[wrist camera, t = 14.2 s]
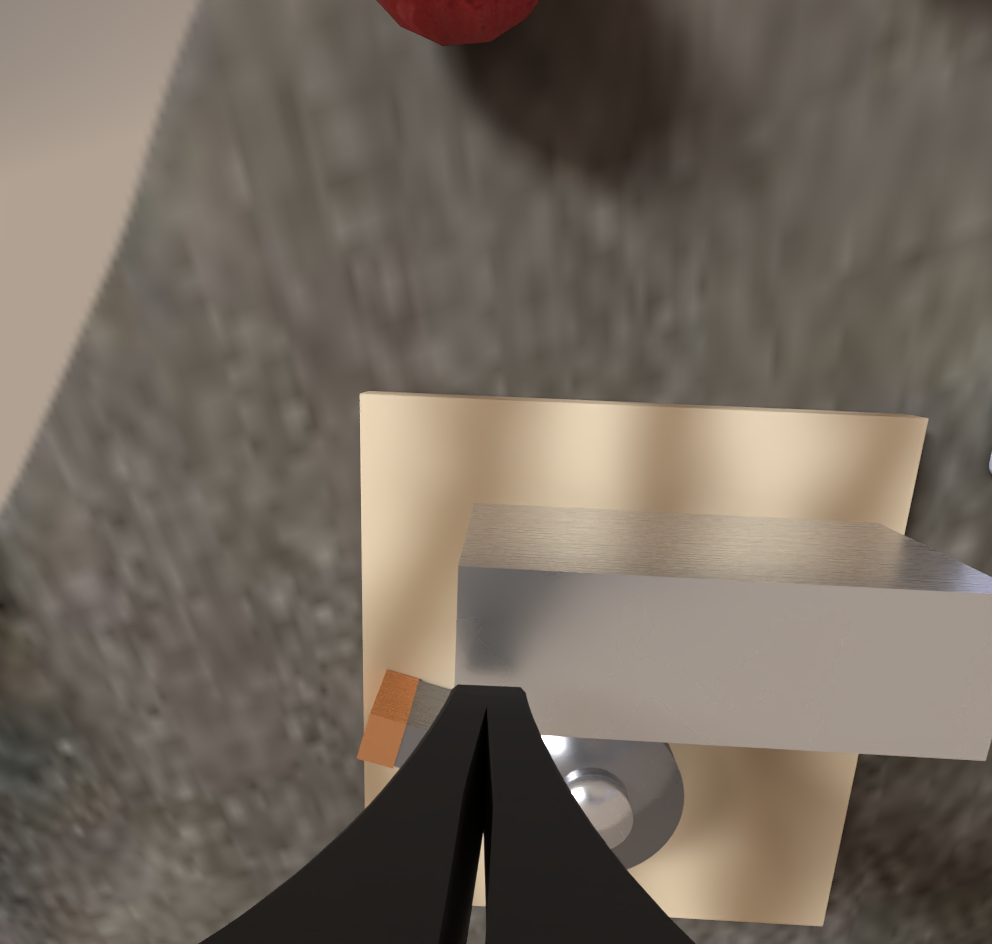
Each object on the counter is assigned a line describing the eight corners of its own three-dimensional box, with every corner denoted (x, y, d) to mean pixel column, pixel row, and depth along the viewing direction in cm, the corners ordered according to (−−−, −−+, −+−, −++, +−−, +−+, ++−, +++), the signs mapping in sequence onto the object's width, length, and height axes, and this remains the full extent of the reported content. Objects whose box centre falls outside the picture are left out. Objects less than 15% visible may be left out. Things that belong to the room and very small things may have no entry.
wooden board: (902, 413, 19) (974, 426, 16) (807, 897, 23) (849, 976, 20) (369, 390, 19) (343, 399, 16) (373, 871, 24) (353, 945, 21)
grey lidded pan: (688, 700, 20) (721, 767, 17) (630, 834, 21) (651, 919, 18) (402, 616, 20) (381, 668, 16) (360, 758, 21) (334, 831, 18)
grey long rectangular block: (878, 523, 17) (1030, 596, 12) (853, 645, 18) (985, 760, 13) (473, 502, 17) (457, 565, 12) (469, 624, 18) (453, 730, 13)
